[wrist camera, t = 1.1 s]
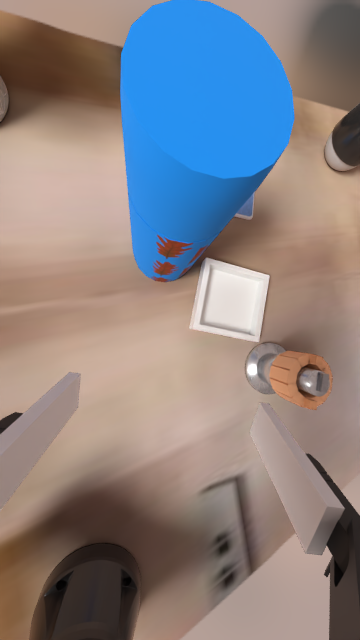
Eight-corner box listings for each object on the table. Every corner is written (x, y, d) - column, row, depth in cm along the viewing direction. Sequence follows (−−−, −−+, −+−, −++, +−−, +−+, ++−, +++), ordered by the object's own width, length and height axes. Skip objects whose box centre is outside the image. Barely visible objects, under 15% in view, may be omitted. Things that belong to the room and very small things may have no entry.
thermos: (143, 216, 35) (152, -45, 10) (197, 237, 37) (311, 60, 12) (125, 272, 34) (89, 127, 9) (182, 290, 36) (274, 211, 11)
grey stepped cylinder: (285, 395, 39) (348, 425, 27) (241, 389, 37) (289, 418, 25) (292, 347, 40) (357, 355, 28) (249, 338, 38) (299, 343, 26)
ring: (306, 401, 33) (335, 413, 29) (266, 395, 32) (289, 407, 27) (312, 355, 34) (341, 359, 29) (273, 347, 33) (297, 350, 28)
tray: (251, 341, 38) (258, 342, 36) (189, 328, 36) (192, 328, 33) (261, 278, 39) (269, 275, 37) (202, 262, 37) (206, 257, 34)
